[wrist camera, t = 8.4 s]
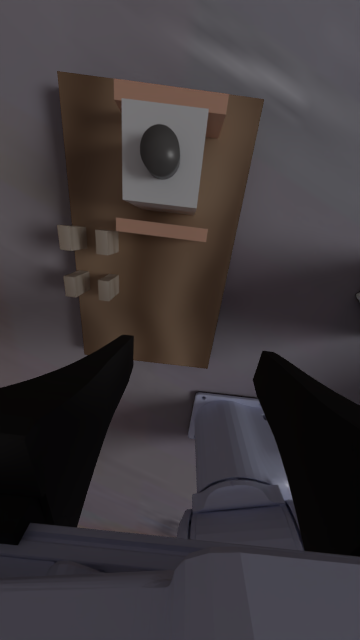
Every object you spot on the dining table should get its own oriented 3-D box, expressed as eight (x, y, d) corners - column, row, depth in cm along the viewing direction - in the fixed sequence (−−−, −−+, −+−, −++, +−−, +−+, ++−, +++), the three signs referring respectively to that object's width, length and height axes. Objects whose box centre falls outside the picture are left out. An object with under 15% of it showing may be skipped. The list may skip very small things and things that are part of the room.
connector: (201, 150, 14) (211, 95, 8) (193, 215, 15) (197, 206, 10) (143, 142, 14) (114, 83, 8) (141, 209, 15) (116, 196, 10)
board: (256, 112, 14) (281, 69, 10) (206, 360, 22) (209, 385, 19) (70, 87, 14) (27, 34, 10) (90, 346, 22) (71, 369, 19)
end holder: (220, 123, 13) (229, 94, 10) (202, 240, 16) (205, 242, 13) (129, 110, 13) (113, 78, 10) (128, 231, 16) (116, 231, 13)
